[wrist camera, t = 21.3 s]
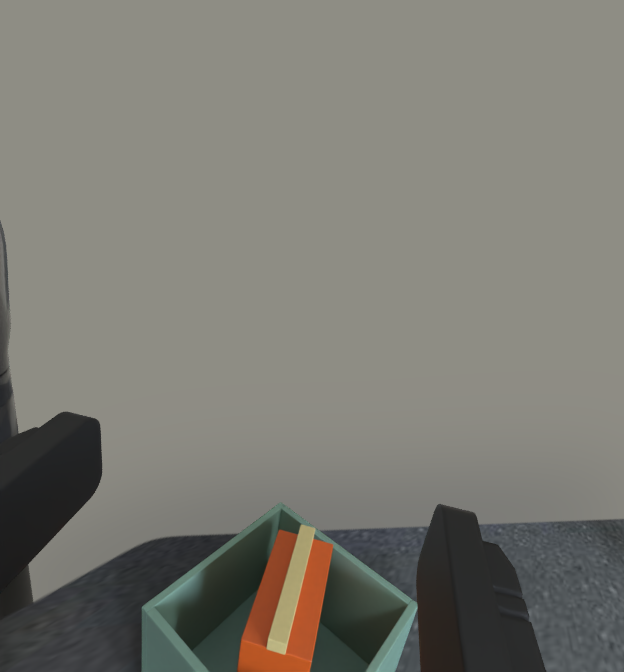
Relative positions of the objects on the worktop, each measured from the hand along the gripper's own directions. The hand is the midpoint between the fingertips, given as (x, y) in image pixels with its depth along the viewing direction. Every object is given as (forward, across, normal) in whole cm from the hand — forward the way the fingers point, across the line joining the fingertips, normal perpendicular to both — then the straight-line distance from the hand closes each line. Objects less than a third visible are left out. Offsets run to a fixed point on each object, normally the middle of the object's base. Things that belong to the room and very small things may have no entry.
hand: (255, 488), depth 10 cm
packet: (+14, 0, +31) cm, 34 cm away
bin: (+14, 0, +32) cm, 35 cm away
